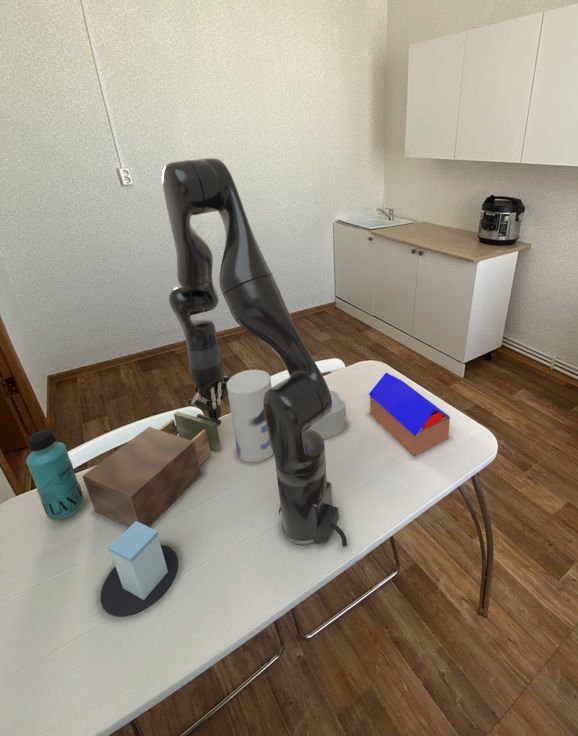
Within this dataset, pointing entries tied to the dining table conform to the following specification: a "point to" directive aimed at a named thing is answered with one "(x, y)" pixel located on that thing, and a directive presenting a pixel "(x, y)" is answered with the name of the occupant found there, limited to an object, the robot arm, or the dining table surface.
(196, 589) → the dining table surface
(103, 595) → the mat
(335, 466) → the dining table surface
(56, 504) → the beverage bottle
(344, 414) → the lumpy-topped squat cylinder
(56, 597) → the dining table surface
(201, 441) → the drawer
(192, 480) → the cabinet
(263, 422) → the container
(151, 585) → the canister
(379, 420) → the house
